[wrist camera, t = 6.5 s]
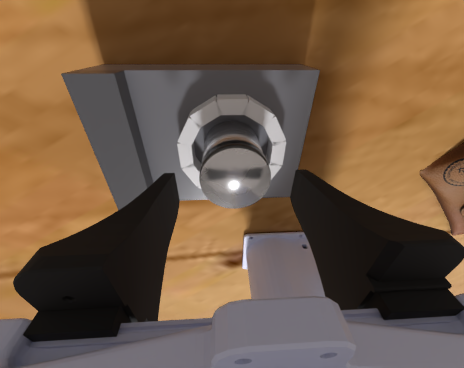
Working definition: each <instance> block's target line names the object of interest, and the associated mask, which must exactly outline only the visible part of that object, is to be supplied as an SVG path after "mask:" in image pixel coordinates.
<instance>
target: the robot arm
mask: <svg viewBox="0 0 464 368" xmlns="http://www.w3.org/2000/svg"><path fill="white" fill-rule="evenodd" d="M290 198H291V202H292V206H293V209H294V212H295V214H296V216H297V218H298V220H299V223H300V225H301V227H302V229H303V231H304V232H285V233H260V234H246V235H244V242H243V260H242V268H243V269H248V275H249V283H250V291H251V299H247V300H239V301H234V302H228V303H227V304H225V305H223V306H221V307H219V308H218V309H217V310H216V311H215V313H214V315H213V317H212V318H203V319H186V320H169V321H158V313H159V304H160V296H161V289H162V282H163V275H164V268H165V263H166V257H167V251H168V247H169V243H170V240H171V236H172V233H173V229H174V226H175V222H176V219H177V215H178V209H179V201H180V199H179V194H178V188H177V183H176V178H175V173H164V174H162V175H161V176H160V177H159V178H158V179H157V180H156V181H155V182H154V183H153V184H152V185H150V186H149V187H148V188H147V189H146V190H145V191H144V192H142V193H141V194H140V195H139V196H138V197H136V198H135V199H134V200H133V201H131V202H130V203H129V204H127V205H126V206H124V207H123V208H121V209H120V210H118V211H117V212H115V213H114V214H112V215H110V216H109V217H107V218H105V219H103V220H102V221H100V222H98V223H96V224H94V225H92V226H90V227H88V228H86V229H84V230H82V231H80V232H78V233H76V234H74V235H71V236H69V237H67V238H64V239H62V240H59V241H57V242H54V243H52V244H49V245H47V246H44V247H41V248H40V249H39V250H38V251H37V252H36V253H35V255H34V256H33V257H32V258H31V259H30V260H29V262H28V263H27V264H26V265H25V266H24V267H23V269H22V270H21V271H20V272H19V273H18V274H17V276H16V277H15V278H14V281H13V284H14V287H15V290H16V291H17V293H18V294H19V295H20V296H21V297H23V298H24V299H25V300H26V301H27V302H28V303H30V304H31V305H32V306H33V307H34V308H35V309H37V310H38V313H37V314H36V316H35V317H34V319H33V320H29V319H23V318H17V319H0V368H464V294H459V295H456V296H454V295H453V294H452V293H451V292H450V291H449V290H448V289H449V288H451V287H452V286H451V284H450V283H449V282H448V281H447V279H446V278H445V277H446V276H447V275H448V274H449V273H450V272H451V271H452V270H453V269H454V268H455V267H456V266H458V265H459V263H460V262H461V261H462V260H463V258H464V247H463V246H462V245H461V244H460V243H459V242H458V241H457V240H455V239H454V238H453V237H452V236H451V235H450V234H448V233H447V232H446V231H442V230H439V229H435V228H431V227H428V226H424V225H420V224H417V223H413V222H410V221H407V220H404V219H401V218H398V217H395V216H393V215H390V214H387V213H385V212H382V211H380V210H377V209H375V208H372V207H370V206H368V205H366V204H364V203H361V202H359V201H357V200H355V199H353V198H351V197H350V196H348V195H346V194H344V193H343V192H341V191H339V190H337V189H336V188H334V187H333V186H331V185H329V184H328V183H326V182H325V181H323V180H322V179H320V178H319V177H317V176H316V175H314V174H313V173H311V172H309V171H308V170H296V171H295V176H294V180H293V185H292V190H291V194H290Z"/></svg>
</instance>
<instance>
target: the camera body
mask: <svg viewBox="0 0 464 368" xmlns="http://www.w3.org/2000/svg"><path fill="white" fill-rule="evenodd" d="M319 72H320V70H318V69H315V68H311V67H308V66H305V65H301V64H103V65H99V66H94V67H89V68H85V69H80V70H76V71H71V72H67V73H62V74H61V75H62V77H63V79H64V82H65V84H66V86H67V89H68V91H69V94H70V96H71V98H72V101H73V103H74V105H75V108H76V110H77V113H78V115H79V117H80V120H81V122H82V124H83V127H84V129H85V132H86V134H87V136H88V139H89V141H90V143H91V146H92V148H93V151H94V153H95V155H96V158H97V160H98V162H99V165H100V167H101V170H102V172H103V174H104V177H105V179H106V181H107V184H108V186H109V189H110V191H111V193H112V196H113V198H114V200H115V203H116V205H117V207H118V210H120V209H121V208H123V207H124V206H126V205H127V204H129V203H130V202H131V201H133V200H134V199H135V198H136V197H138V196H139V195H140V194H141V193H142V192H144V191H145V190H146V189H147V188H148V187H149V186H150V185H152V184H153V183H154V182H155V181H156V180H157V179H158V178H159V177H160V176H161V175H162V174H164V173H175V178H176V183H177V188H178V194H179V199H180V200H208V198H207V197H206V196H205V195H204V193H203V191H202V189H201V186H200V181H199V175H200V168H201V163H202V159H203V152H204V145H205V139H206V137H207V135H208V133H209V132H210V130H211V129H212V128H213V127H214V126H216V125H217V124H219V123H222V122H225V121H239V122H242V123H245V124H246V125H248V126H249V127H251V128H252V129H253V131H254V132H255V134H256V136H257V139H258V141H259V144H260V146H261V149H262V152H263V154H264V155H265V157H266V160H267V162H268V165H269V167H270V171H271V182H270V186H269V188H268V190H267V192H266V193H265V195H264V196H263V197H262V198H271V197H290V194H291V190H292V185H293V180H294V176H295V171H296V170H298V167H299V162H300V158H301V153H302V149H303V144H304V140H305V135H306V131H307V126H308V122H309V117H310V113H311V108H312V103H313V99H314V94H315V90H316V85H317V81H318V76H319Z"/></svg>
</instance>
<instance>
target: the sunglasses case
mask: <svg viewBox="0 0 464 368" xmlns="http://www.w3.org/2000/svg"><path fill="white" fill-rule="evenodd" d="M420 176H421V177H422V178H423V179H424V180H425V181H426V183H428V185H429V186H430V187H431V189H432V190H433V192H434V194H435V195H436V197H437V199H438V201H439V203H440V205H441V207H442V209H443V211H444V213H445V215H446V217H447V220H448V221H449V224H450V228H451V234H452V235H458V234H464V143H463V144H461V145H460V146H458V147H456V148H455V149H453V150H452V151H450V152H448V153H447V154H445V155H444V156H442V157H441V158H439V159H438V160H436V161H435V162H433V163H432V164H431V165H429V166H428V167H427V168H425V169H423V170H421V171H420Z"/></svg>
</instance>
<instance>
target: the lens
mask: <svg viewBox="0 0 464 368" xmlns="http://www.w3.org/2000/svg"><path fill="white" fill-rule="evenodd" d="M199 181H200V186H201V189H202V191H203V193H204V195H205V196H206V197H207V198H208V199H209V200H210V201H211V202H213V203H214V204H216V205H219V206H221V207H225V208H242V207H246V206H249V205H252V204H254V203H255V202H257V201H258V200H260V199H261V198H262V197H263V196H264V195H265V193H266V192H267V190H268V188H269V186H270V182H271V171H270V167H269V165H268V162H267V160H266V157H265V155H264V154H263V152H262V149H261V146H260V144H259V141H258V139H257V136H256V134H255V132H254V131H253V129H252V128H251V127H249V126H248V125H246V124H245V123H242V122H239V121H225V122H222V123H219V124H217V125H216V126H214V127H213V128H212V129H211V130H210V132H209V133H208V135H207V137H206V139H205V145H204V152H203V159H202V163H201V168H200V175H199Z"/></svg>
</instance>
